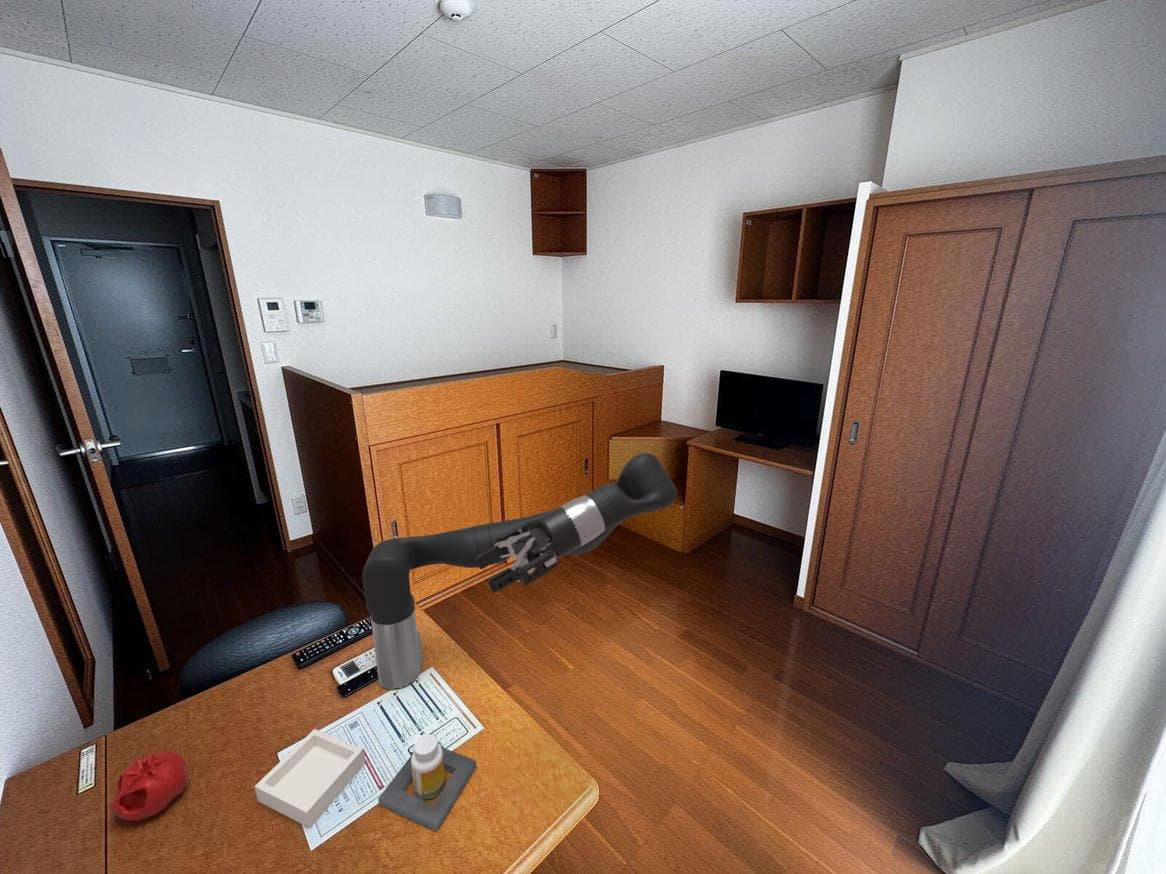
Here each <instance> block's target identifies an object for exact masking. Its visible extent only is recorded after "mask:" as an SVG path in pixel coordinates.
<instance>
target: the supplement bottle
mask: <svg viewBox="0 0 1166 874" xmlns="http://www.w3.org/2000/svg"><path fill="white" fill-rule="evenodd" d="M441 747H442V746H441V745H440V744H439V741H438V738H437V737H436V735H434V734H431V733H430V734H423V735H422V736H420V737H419V738H417V740H416V741H415V743H414V745H413V752H412V754H413V755H412V754H411V755H412V758H411V767H412V776H413V781H412V784H413V791H414V794H415V796H416V797H418V798H420V799H423V800H428V799H429V800H430V799H432V798H434V797H436V796H437V795H439V794H440V792H441V791H442V789H443V788H444V786H445V782H446V778H445V777H446V775H445V770H444V762H443V751H442V748H443V747H442V748H441Z"/></svg>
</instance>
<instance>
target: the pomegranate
mask: <svg viewBox="0 0 1166 874" xmlns="http://www.w3.org/2000/svg"><path fill="white" fill-rule="evenodd" d="M159 749H161V747H159V748H157V749H155V750H154V751H153V752H152V753H151V754H150V755H149V756H144V757H142V759H140V758H133V760H135V761H134V762H132V763H131V764H130V765H128V767H127V768H125V770H124V771H122V773H121V774H119V775H117V776H115V778H118V777H119V778H118V780H117V782H116V792H115V793H116V794H115V795H116V796H115V799H113V800H112V802H111V803H110V806H109V808H110V810H111V812H112V813H114V814H115V815H117V817H118V818H120V819H121V820H125V821H132V822H133V821H134V822H135V821H143V820H145V819H148V818H151V817H153V816H155V815H157V814H159V813H161V812H162V811H164V810H165V809H167V807H168V806H169V805H170V803H171V802H172V801H173V800H174V799H176V798H177V797H178V796H180V794H182V793H183V791H184V790H185V788H186V786H187V784H188V775H187V774H188V773H187V764H186V760H185V758H184V757H183V756H182V755H181V753H178V751H175V750H172V749H171V750H166V751H163V752H160V753H157V752H158V751H159Z"/></svg>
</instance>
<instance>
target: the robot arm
mask: <svg viewBox="0 0 1166 874" xmlns="http://www.w3.org/2000/svg"><path fill="white" fill-rule="evenodd" d="M677 491H678V490H677V488H676V485H675V484H674V483H673V481H672V479H671V477H670V476H669V474H668V472H667V471H666V469H665V468H664V466H663V465H662V463H661V462H660V460H659V458H658V457H657V456H656V455H655V454H653V453H649V452H642V453H639V454H637V455H635V456H633V457H631V459H630V460H628V462H627V463H625V465H624V467H622V470H621V471H620V474H619V476H618V478H617V480H616V482H615V483H613V482H608V483H604V484H602V485H601V486H599V487H597V488H595V489H594V490H592V491H590V492H587V493H586V494H584V495H582V496H579V497H577V498H574V499H572V500H571V499H570V501H567V502H566V503H564V504H563V505H560V506H558V507H556V508H555V509H552V510H549V511H544V512H540V513H537V514H532V515H528V516H524V517H519V518H513V519H509V520H502V521H496V522H489V523H484V524H480V525H474V526H470V527H465V528H459V529H455V530H448V531H445V532H439V533H436V534H430V535H429V534H427V535H417V536H409V537H406V536H405V537H398V538H396V537H395V538H389V539H386V540H382V541H381V542H379V543H377V544H376V545H375V546H374V547H373V548H372V549H371V551H370V552H369V555H368V558H367V561H366V562H365V565H364V567H363V569H362V578H361V580H362V586H363V592H364V599H365V605H366V609H367V611H368V612H369V613H370V620H371V630H372V637H373V645H374V653H375V654H374V655H375V661H376V671H377V677H378V684H379V685H380V686H381V687H382V688H384V689H387V690H395V689H394V688H400V687H403V686H405V685H407V684H409V683H411V682H412V681H413V680H415V679H416V678H417V679H418V677H419V676H420V673H421V667H422V666H423V665H424V659H423V649H422V647H423V646H422V639H421V638H422V637H421V631H420V630H418V627H417V618H416V605H415V604H416V603H415V596H413V594H412V593H411V585H410V584H411V583H410V582H411V581H410V572H411V570H415V569H418V568H421V567H426V566H427V567H428V566H432V565H448V566H454V567H460V568H467V569H474V568H479V569H480V570H483V569H486V568H487V567H490V566H493V565H496V564H501V563H504V562H506V561H507V560H509V559H510V558H511V557H512V558H513V559H516V560H515V561H514V563H512V565H511V566H510V567H507V568H505V569H504V570H502V571H499V572H498V573H496V574H494V575H493V576H491V577H489V578H488V579H487V584H488V586H489V589H490V590H491V592H492V593H497V592H499V591H500V590H502V589H504V588H506V587H508V586H509V585H511V584H512V583H515V582H517V583H520V582H522V583H523V585H524V586H528V585H530V584H531V583H532V582H534V581H536V580H538V579H539V578H541V577H542V576H545V575H546V574H547V573H549V572H551V571H552V570H553V569H555V568H557V567H558V565H559V563H558V560H557V559H561V558H563V557H565V556H579V555H582V554H586V553H590V552H591V551H593V550H595V549H597V547H598V546H599V545H601V544H602V542H604V541H605V540H606V538H607V537H609V535H610V534H611V533H612V532H613V531H614V529H616V527H618V526H619V525H621V524H622V523H623V522H625V521H627V519H630V518H632V517H636V516H639V515H643V514H648V513H653V512H657V511H662V510H664V509H666V508H668V507H670V506H671V505H672V504H673V503H674V501H675V499H676V497H677V493H678V492H677ZM529 574H530V575H529ZM418 675H419V676H418ZM417 679H416V680H417ZM416 680H415V681H416ZM412 683H413V682H412ZM412 683H411V684H412ZM409 685H410V684H409ZM403 688H404V687H403ZM400 689H401V688H400Z"/></svg>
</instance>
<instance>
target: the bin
mask: <svg viewBox="0 0 1166 874" xmlns="http://www.w3.org/2000/svg"><path fill="white" fill-rule="evenodd" d="M364 765H366V762H365V756H364V749H362V748H360V747H358V746H356V745H353V744H352V743H349V742H347V741H344V740H342V739H340V738H337V737H335V736H332V735H330V734H328V733H325V732H323V731H321V730H319V729H316V728H314V729H313V730H312V731H310V733H309V734H307V736H306V737H304V739H303V740H301V741H300V742H298V744H297V745H296V746H295V747H294V748H293V749H292V750H291V751H290V752H289V753H288V754H287V755H286V756H285V757H284V758H282V759H281V761H280V762H278V764H276V765H275V766H274V767H273V768H272V769H271V770H270V771H268V773H267V774H266V775H265V776H264V777H263V778H262V779H261V780H259V781H258V783H256V784H255V786H254V790H255V791H254V792H255V794H256V795H255V796H256V799H257V802H258V803H260V804H263V805H265V806H266V807H268V808H270V809H271V810H274V811H276V812H277V813H280V814H282V815H283V816H285V817H287V818H290V819H291V820H293V821H295V822H297V823H299V824H301V825H303V826H304V827H307V828H308V829H310V828H311V827H312V826H313V824H315V822H316V821H317V820H318V819H319V818H320V816H321V815H322V814H323V813H324V812H325V811H326V810H327V809H328V807H329V806H330V805H331V804H332V803H333V801H335V799H336V798H337V797H338V795H339V794H340V793H341V792H342V791H343V790H344V788H345V787H346V786H347V785H348V784H349V783H350V781H352V779H353V778H354V777H355V776H356V775H357V773H358V772H359V771H360V770H361V769H362V768H363V766H364Z"/></svg>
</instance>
